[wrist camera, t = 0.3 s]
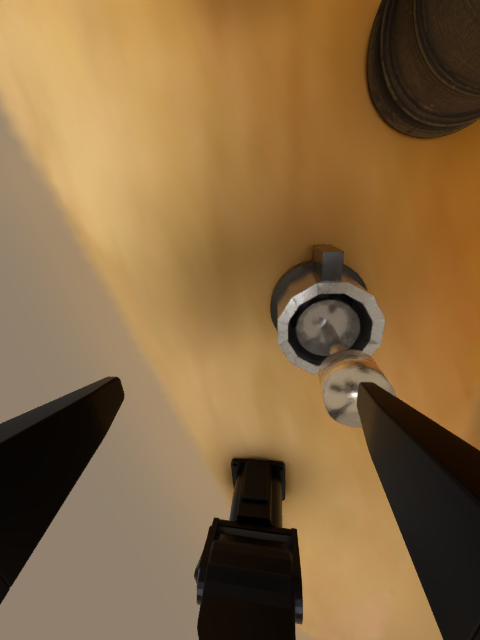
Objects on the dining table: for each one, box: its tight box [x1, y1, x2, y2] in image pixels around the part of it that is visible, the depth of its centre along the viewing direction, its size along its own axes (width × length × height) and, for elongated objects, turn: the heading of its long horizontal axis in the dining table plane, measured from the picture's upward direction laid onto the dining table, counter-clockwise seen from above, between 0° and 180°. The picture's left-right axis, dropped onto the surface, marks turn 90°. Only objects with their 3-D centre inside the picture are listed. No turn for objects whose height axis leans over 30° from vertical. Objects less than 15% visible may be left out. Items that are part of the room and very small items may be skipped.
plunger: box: [296, 298, 396, 427], centre depth 14 cm, size 4×4×8 cm
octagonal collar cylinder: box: [271, 245, 385, 374], centre depth 19 cm, size 9×8×5 cm
